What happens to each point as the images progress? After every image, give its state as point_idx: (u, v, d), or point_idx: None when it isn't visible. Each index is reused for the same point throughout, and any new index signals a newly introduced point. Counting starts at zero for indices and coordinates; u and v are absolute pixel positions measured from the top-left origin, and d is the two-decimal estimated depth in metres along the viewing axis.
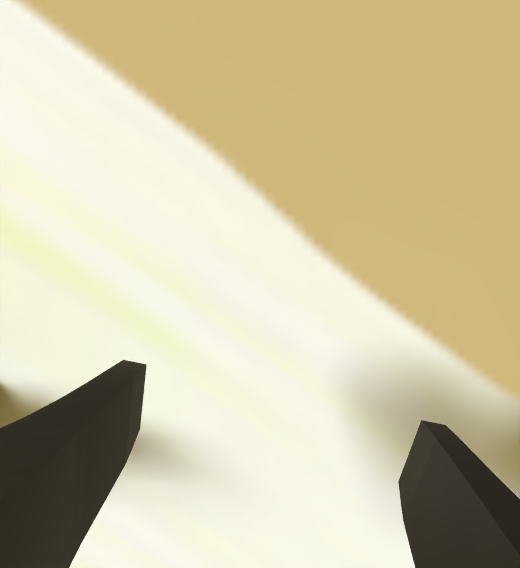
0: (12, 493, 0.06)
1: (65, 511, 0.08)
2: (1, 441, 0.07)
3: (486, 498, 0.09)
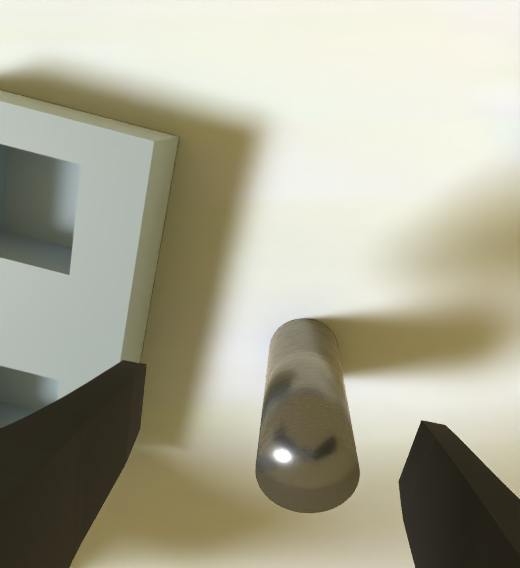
0: (12, 493, 0.06)
1: (65, 511, 0.08)
2: (1, 441, 0.07)
3: (486, 498, 0.09)
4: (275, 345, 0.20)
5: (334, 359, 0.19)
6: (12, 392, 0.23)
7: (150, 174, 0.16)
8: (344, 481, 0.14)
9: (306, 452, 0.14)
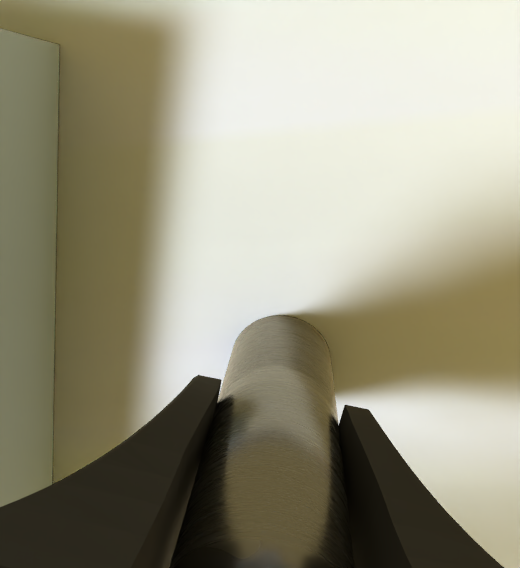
0: (153, 522, 0.06)
1: (169, 533, 0.08)
2: (117, 465, 0.07)
3: (383, 477, 0.09)
4: (233, 358, 0.13)
5: (319, 377, 0.12)
6: None
7: None
8: None
9: None
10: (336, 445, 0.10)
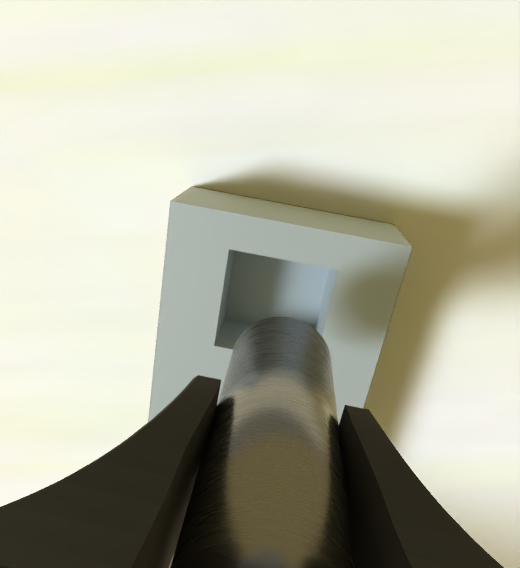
0: (153, 522, 0.06)
1: (169, 533, 0.08)
2: (118, 465, 0.07)
3: (383, 477, 0.09)
4: (231, 362, 0.13)
5: (317, 376, 0.12)
6: None
7: None
8: None
9: None
10: (334, 443, 0.10)
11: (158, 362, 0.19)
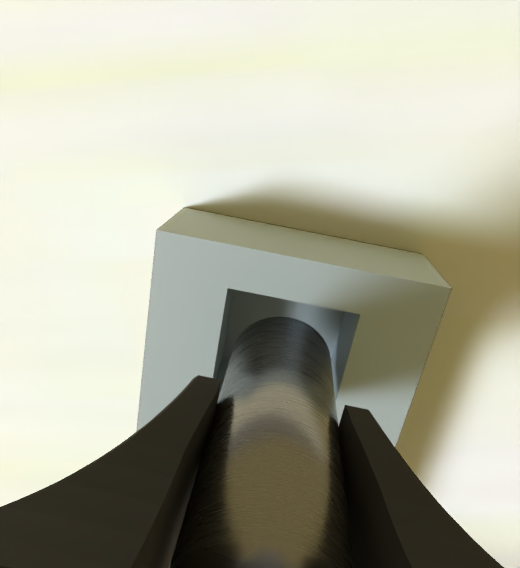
0: (153, 522, 0.06)
1: (169, 533, 0.08)
2: (117, 465, 0.07)
3: (383, 477, 0.09)
4: (231, 361, 0.13)
5: (316, 376, 0.12)
6: None
7: None
8: None
9: None
10: (334, 443, 0.10)
11: (142, 417, 0.16)
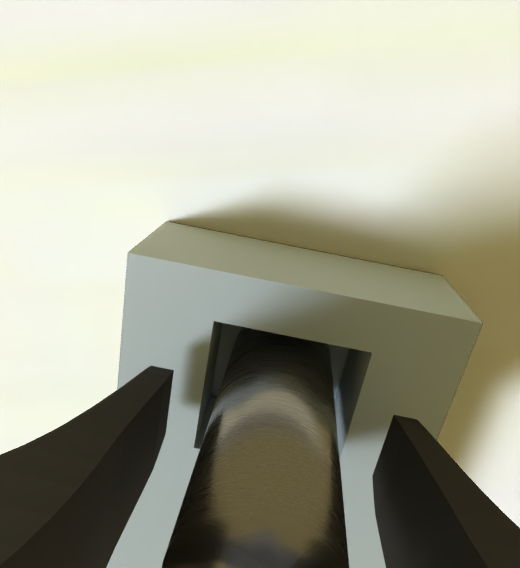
0: (64, 504, 0.06)
1: (103, 519, 0.08)
2: (44, 450, 0.07)
3: (449, 490, 0.09)
4: (232, 354, 0.14)
5: (315, 367, 0.12)
6: None
7: None
8: None
9: (245, 552, 0.07)
10: (330, 430, 0.10)
11: None
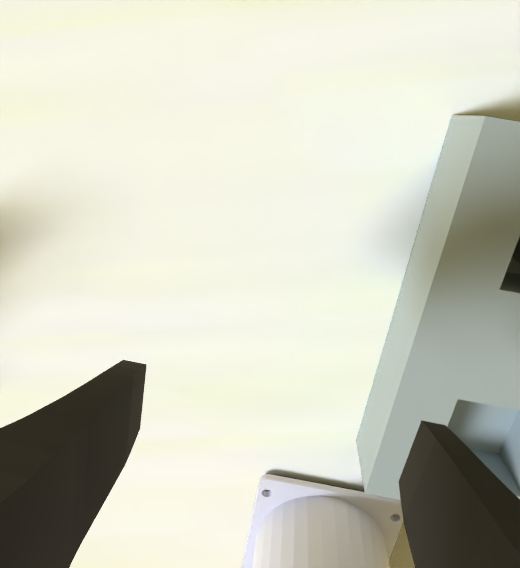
0: (12, 493, 0.06)
1: (65, 511, 0.08)
2: (1, 441, 0.07)
3: (486, 498, 0.09)
4: None
5: None
6: None
7: None
8: None
9: None
10: None
11: (428, 310, 0.17)
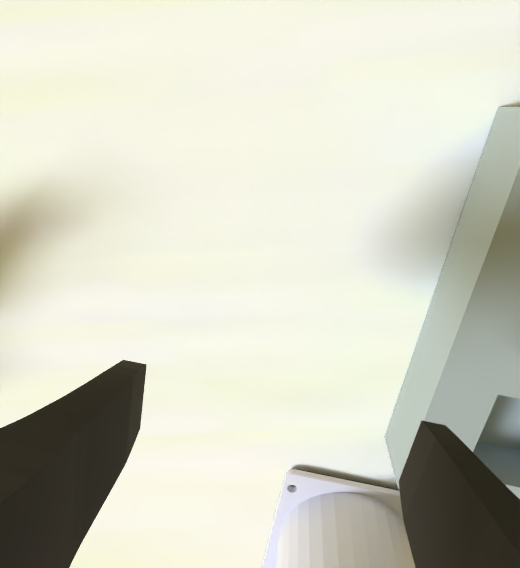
0: (12, 493, 0.06)
1: (65, 511, 0.08)
2: (1, 441, 0.07)
3: (486, 498, 0.09)
4: None
5: None
6: None
7: None
8: None
9: None
10: None
11: (473, 304, 0.17)
